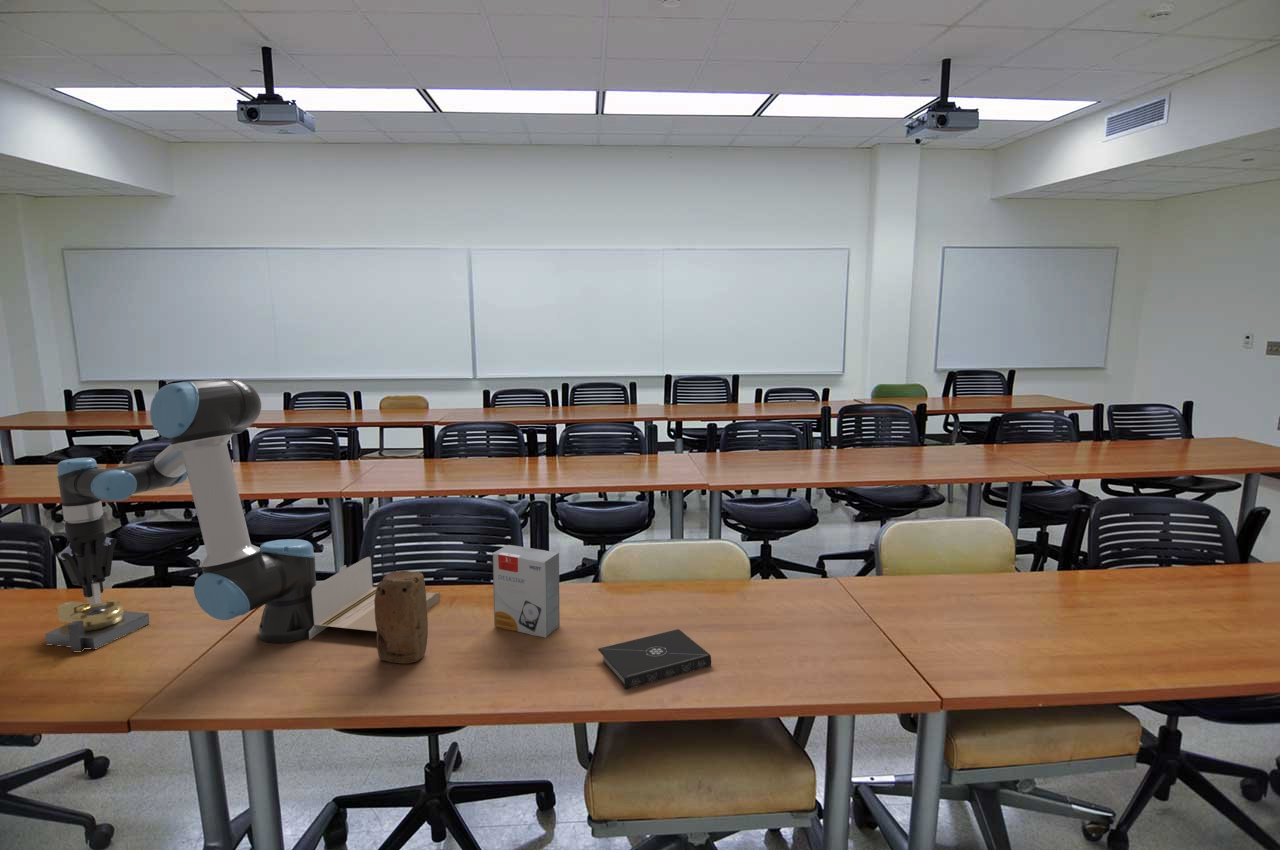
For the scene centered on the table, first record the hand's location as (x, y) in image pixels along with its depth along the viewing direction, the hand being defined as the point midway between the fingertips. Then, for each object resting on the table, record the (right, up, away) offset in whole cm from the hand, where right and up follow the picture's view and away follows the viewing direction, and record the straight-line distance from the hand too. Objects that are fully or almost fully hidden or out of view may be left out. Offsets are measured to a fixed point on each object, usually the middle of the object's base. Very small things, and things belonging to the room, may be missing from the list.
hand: (95, 607), depth 164 cm
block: (+86, -7, -17) cm, 88 cm away
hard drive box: (+112, -5, -1) cm, 112 cm away
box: (+72, -5, +4) cm, 73 cm away
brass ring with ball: (+3, -2, -6) cm, 7 cm away
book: (+144, -8, -19) cm, 146 cm away
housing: (+6, -5, -7) cm, 10 cm away
